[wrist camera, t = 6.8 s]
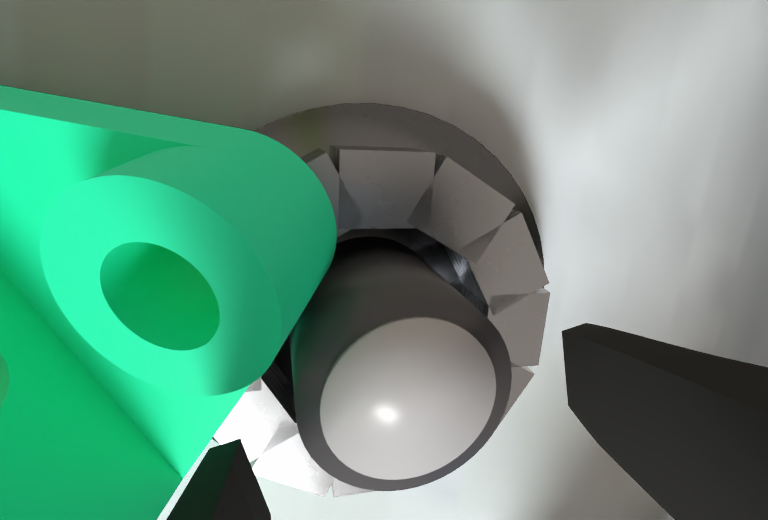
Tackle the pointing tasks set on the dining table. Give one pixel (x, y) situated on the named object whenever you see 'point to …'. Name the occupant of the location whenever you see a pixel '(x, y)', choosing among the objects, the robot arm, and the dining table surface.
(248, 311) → the camera mount
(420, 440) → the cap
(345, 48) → the dining table surface
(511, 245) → the grey knurled ring
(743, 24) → the dining table surface
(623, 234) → the dining table surface
